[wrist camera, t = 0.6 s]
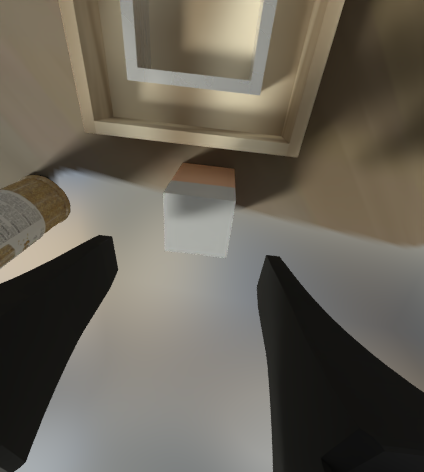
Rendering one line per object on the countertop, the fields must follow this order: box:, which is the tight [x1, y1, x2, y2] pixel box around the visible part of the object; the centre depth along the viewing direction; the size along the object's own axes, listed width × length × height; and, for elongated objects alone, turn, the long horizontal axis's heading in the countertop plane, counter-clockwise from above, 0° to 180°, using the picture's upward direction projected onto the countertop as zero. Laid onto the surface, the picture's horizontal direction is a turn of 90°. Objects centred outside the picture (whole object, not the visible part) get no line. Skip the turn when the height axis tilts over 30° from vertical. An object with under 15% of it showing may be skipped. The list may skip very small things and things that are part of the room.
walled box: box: [58, 0, 345, 157], centre depth 11 cm, size 13×13×3 cm
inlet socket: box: [120, 0, 277, 95], centre depth 11 cm, size 7×7×2 cm
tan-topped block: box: [163, 163, 236, 258], centre depth 16 cm, size 4×4×6 cm
